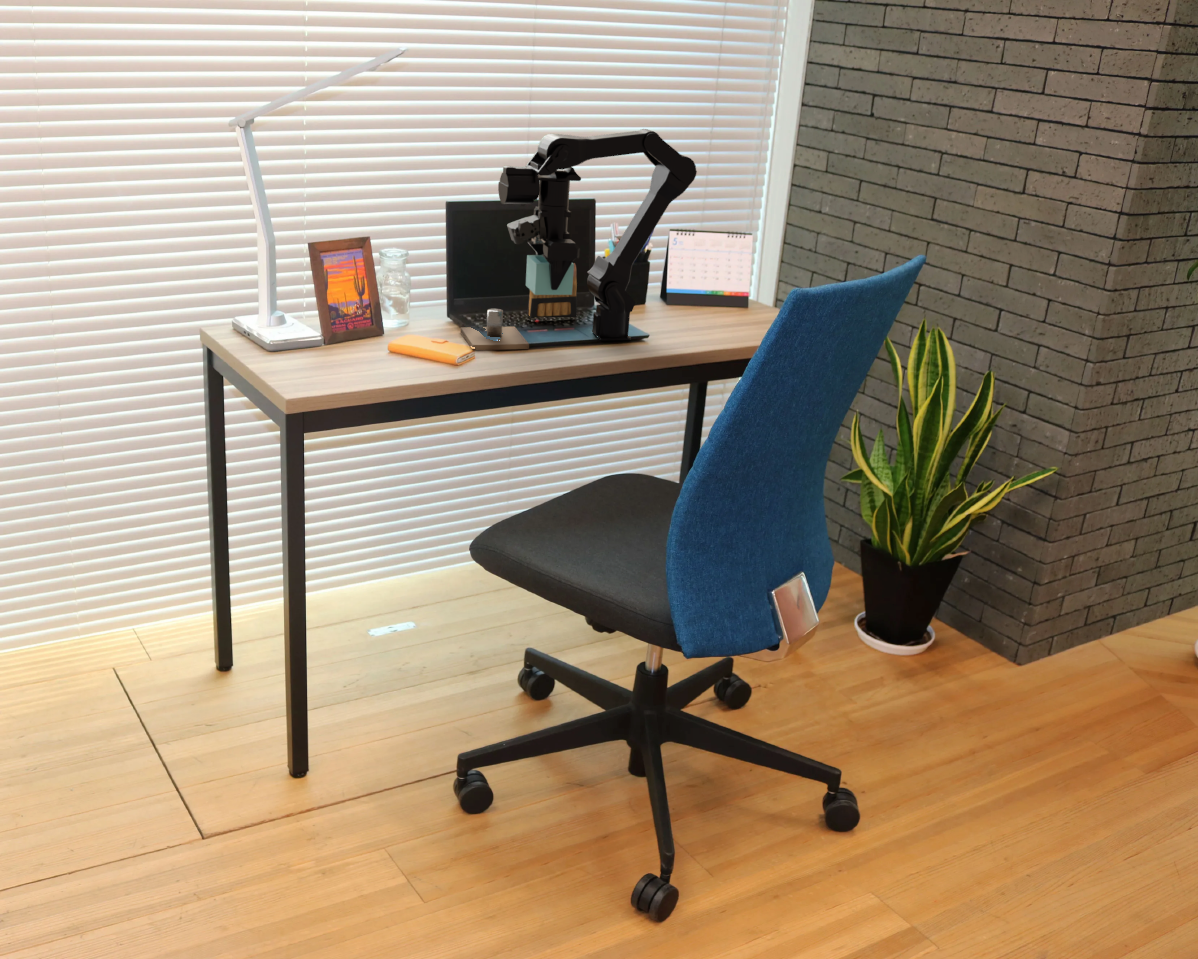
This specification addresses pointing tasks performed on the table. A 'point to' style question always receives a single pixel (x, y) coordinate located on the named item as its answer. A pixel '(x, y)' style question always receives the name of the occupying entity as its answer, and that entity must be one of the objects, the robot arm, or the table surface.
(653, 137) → the robot arm
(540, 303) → the ammunition clip
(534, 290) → the collar
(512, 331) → the post base
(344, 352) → the table surface
